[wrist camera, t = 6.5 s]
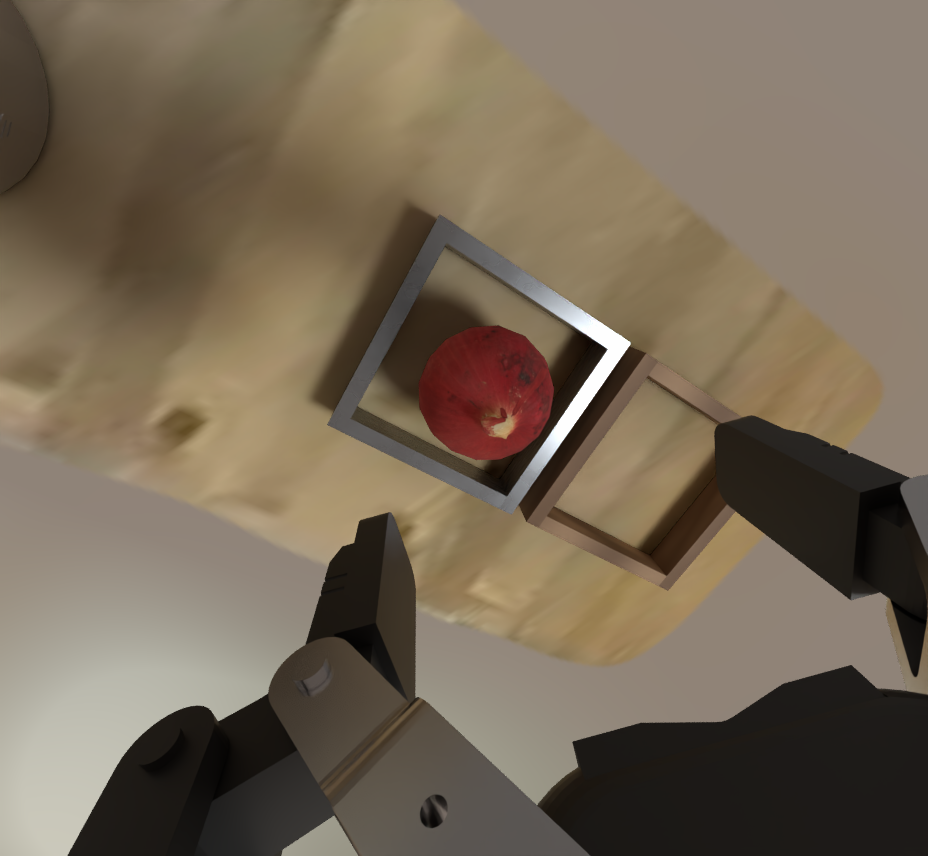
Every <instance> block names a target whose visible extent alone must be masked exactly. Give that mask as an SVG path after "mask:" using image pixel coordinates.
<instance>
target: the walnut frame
mask: <svg viewBox="0 0 928 856" xmlns="http://www.w3.org/2000/svg"><path fill="white" fill-rule="evenodd" d="M646 378H648V379H650V380H651V381H653V382H654V383H656V384H657V385H659V386H660V387H662V388H663V389H665V390H667V391H668V392H670V393H671V394H673V395H674V396H676V397H677V398H679V399H680V400H682V401H683V402H685V403H686V404H688V405H689V406H691V407H693V408H694V409H696V410H697V411H699V412H700V413H702V414H703V415H705V416H706V417H708V418H709V419H711V420H712V421H714V422H715V423H717V424H721V423H724V422H728V421H732V420H735V419H739V418H742V417H740V416H739V415H737V414H736V413H734V412H733V411H731V410H730V409H728V408H727V407H725V406H724V405H722V404H721V403H719V402H718V401H716V400H715V399H714V398H712V397H711V396H709V395H708V394H706V393H705V392H703V391H702V390H700V389H699V388H697V387H696V386H694V385H693V384H691V383H690V382H688V381H687V380H685V379H684V378H682V377H681V376H679V375H678V374H676V373H675V372H673V371H672V370H670V369H669V368H667V367H666V366H665V365H663V364H662V363H660V362H659V361H657V360H656V359H654V358H653V357H651V356H650V355H648V354H647V353H644V352H642V351H639V350H637V349H634V348H631V347H629V346H628V348H627V349H626V351H625V352H624V354H623V355H622V357H621V358H620V359H619V361H618V362H617V364H616V365H615V367H614V368H613V369H612V371H611V372H610V374H609V375H608V377H607V378H606V379H605V381H604V382H603V384H602V385H601V387H600V388H599V390H598V391H597V392H596V394H595V395H594V397H593V398H592V400H591V401H590V402H589V404H588V405H587V407H586V408H585V410H584V411H583V412H582V414H581V415H580V417H579V418H578V420H577V421H576V423H575V424H574V425H573V427H572V428H571V430H570V431H569V433H568V434H567V435H566V437H565V438H564V440H563V441H562V443H561V444H560V445H559V447H558V448H557V450H556V451H555V453H554V454H553V456H552V457H551V458H550V460H549V461H548V463H547V464H546V466H545V467H544V468H543V470H542V471H541V473H540V474H539V476H538V477H537V479H536V480H535V481H534V483H533V484H532V486H531V487H530V489H529V490H528V491H527V493H526V494H525V496H524V497H523V499H522V500H521V501H520V503H519V506H520V508H521V511H522V513H523V515H524V517H525V520H526V522H528V523H530V524H532V525H534V526H536V527H538V528H540V529H542V530H544V531H547V532H549V533H551V534H553V535H555V536H557V537H559V538H561V539H563V540H565V541H567V542H569V543H571V544H573V545H575V546H577V547H579V548H581V549H583V550H586V551H588V552H590V553H592V554H594V555H596V556H598V557H600V558H602V559H604V560H606V561H608V562H610V563H612V564H614V565H616V566H618V567H620V568H623V569H625V570H627V571H629V572H631V573H633V574H635V575H637V576H639V577H641V578H643V579H645V580H647V581H649V582H651V583H653V584H655V585H657V586H660V587H662V588H664V589H666V590H669V589H670V588H671V587H672V586H673V584H674V583H675V582H676V581H677V580H678V579H679V577H680V576H681V575H682V574H683V573H684V572H685V570H686V569H687V568H688V567H689V566H690V564H691V563H692V562H693V561H694V560H695V559H696V557H697V556H698V555H699V554H700V553H701V552H702V550H703V549H704V548H705V547H706V546H707V544H708V543H709V542H710V541H711V540H712V539H713V537H714V536H715V535H716V534H717V533H718V532H719V530H720V529H721V528H722V527H723V526H724V525H725V523H726V522H727V521H728V520H729V519H730V517H731V516H732V515H733V514H734V513H735V512H736V511H735V510H733V509H732V508H731V507H730V506H728V505H727V504H726V502H725V501H724V500H723V498H722V496H721V494H720V492H719V490H718V486H717V479H716V476H715V477H714V478H713V479H712V480H711V482H710V483H709V484H708V485H707V487H706V488H705V489H704V490H703V491H702V493H701V494H700V495H699V496H698V498H697V499H696V500H695V501H694V503H693V504H692V505H691V506H690V507H689V509H688V510H687V511H686V512H685V514H684V515H683V516H682V517H681V518H680V520H679V521H678V522H677V523H676V525H675V526H674V527H673V528H672V529H671V531H670V532H669V533H668V534H667V536H666V537H665V538H664V539H663V540H662V542H661V543H660V544H659V545H658V547H657V548H656V549H655V550H654V551H653V553H652V554H651V555H648V554H646V553H644V552H642V551H640V550H638V549H636V548H634V547H632V546H630V545H628V544H626V543H624V542H622V541H620V540H618V539H616V538H614V537H612V536H610V535H608V534H606V533H604V532H602V531H600V530H598V529H596V528H595V527H593V526H591V525H589V524H587V523H585V522H583V521H581V520H579V519H577V518H575V517H573V516H571V515H569V514H567V513H565V512H563V511H561V510H559V509H557V508H555V507H554V505H555V504H556V502H557V501H558V500H559V498H560V497H561V496H562V494H563V493H564V491H565V490H566V489H567V487H568V486H569V484H570V483H571V482H572V480H573V479H574V478H575V476H576V475H577V473H578V472H579V471H580V469H581V468H582V466H583V465H584V464H585V462H586V461H587V460H588V458H589V457H590V455H591V454H592V453H593V451H594V450H595V448H596V447H597V446H598V444H599V443H600V442H601V440H602V439H603V437H604V436H605V435H606V433H607V432H608V430H609V429H610V428H611V426H612V425H613V424H614V422H615V421H616V419H617V418H618V417H619V415H620V414H621V412H622V411H623V410H624V408H625V407H626V406H627V404H628V403H629V401H630V400H631V399H632V397H633V396H634V394H635V393H636V392H637V390H638V389H639V388H640V386H641V385H642V383H643V382H644V381H645V379H646Z"/></svg>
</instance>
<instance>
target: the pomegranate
mask: <svg viewBox="0 0 928 856" xmlns="http://www.w3.org/2000/svg"><path fill="white" fill-rule="evenodd" d="M553 393H554V387H553V383H552V380H551V376H550V373H549V369H548V365H547V362H546V360H545V358H544V357H543V356H542V355H541V354H540V352H539V351H538V350H537V349H536V348H535V347H534V346H533V345H532V343H531V342H530V341H529V340H528V339H527V338H526V337H525V336H523V335H521V334H518V333H516V332H513V331H511V330H508V329H506V328H503V327H501V326H484V327H470V328H468V329H466V330H464V331H462V332H460V333H458V334H456V335H454V336H452V337H450V338H447V339H446V340H445V341H444V342H443V343H442V344H441V345H440V347H439V348H438V349H437V350H436V351H435V352H434V353H433V354H432V355H431V356H430V357H429V359H428V361H427V364H426V366H425V369H424V371H423V374H422V376H421V378H420V381H419V406H420V410H421V412H422V414H423V416H424V419H425V421H426V423H427V425H428V427H429V429H430V431H431V432H432V433H433V435H434V436H435V437H436V438H438V439H439V440H440V441H441V442H442V443H443V444H445V445H446V446H447V447H448V448H449V449H450V450H452V451H454V452H456V453H459V454H462V455H465V456H467V457H470V458H473V459H475V460H496V459H502V458H505V457H507V456H510V455H512V454H515V453H517V452H520V451H522V450H523V449H524V448H525V447H527V446H528V445H529V444H530V443H531V442H532V441H533V440H535V439H536V438H537V437H538V436H539V435H540V433H541V431H542V429H543V427H544V426H545V424H546V422H547V420H548V418H549V417H550V411H551V405H552V399H553Z"/></svg>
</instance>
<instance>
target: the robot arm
mask: <svg viewBox="0 0 928 856" xmlns="http://www.w3.org/2000/svg"><path fill="white" fill-rule="evenodd" d="M48 118H49V100H48V90H47V81H46V77H45V74H44V70H43V67H42V63H41V60H40V56H39V53H38V49H37V47H36V45H35V43H34V41H33V39H32V37H31V35H30V33H29V30H28V28H27V26H26V24H25V22H24V20H23V18H22V16H21V15H20V13H19V12H18V10H17V9H16V7H15V6H14V4H13V3H12V1H11V0H0V193H2V192H5V191H6V190H8V189H9V188H11V187H12V186H13V185H15V184H16V183H17V182H19V181H20V180H22V179H23V178H24V177H25V175H26V174H27V173H28V171H29V170H30V169H31V168H32V166H33V165H34V164H35V162H36V161H37V160H38V157H39V154H40V152H41V149H42V147H43V144H44V142H45V139H46V135H47V127H48ZM714 437H715V458H716V479H717V486H718V490H719V492H720V494H721V496H722V498H723V500H724V501H725V502H726V504H727V505H728V506H730V507H731V508H732V509H733V510H735V511H736V512H737V513H738V514H740V515H741V516H742V517H744V518H745V519H746V520H748V521H749V522H750V523H751V524H753V525H754V526H755V527H757V528H758V529H759V530H760V531H762V532H763V533H764V534H766V535H767V536H768V537H770V538H771V539H772V540H774V541H775V542H776V543H777V544H779V545H780V546H781V547H782V548H784V549H785V550H787V551H788V552H789V553H790V554H792V555H793V556H794V557H795V558H797V559H798V560H799V561H801V562H802V563H803V564H805V565H806V566H807V567H808V568H810V569H811V570H812V571H814V572H815V573H816V574H817V575H819V576H820V577H821V578H823V579H824V580H825V581H827V582H828V583H829V584H830V585H832V586H833V587H834V588H836V589H837V590H838V591H840V592H841V593H842V594H843V595H845V596H846V597H847V598H849V599H850V600H854V599H857V598H861V597H865V596H868V595H872V594H876V593H879V592H881V593H882V594H884V595H885V596H887V601H886V609H885V610H886V616H887V620H888V624H889V627H890V631H891V635H892V638H893V642H894V646H895V649H896V653H897V657H898V661H899V664H900V668H901V672H902V675H903V679H904V683H905V686H906V690H907V691H902V690H892V689H877V688H876V687H875V686H874V685H872V684H871V683H870V682H869V681H868V680H867V679H866V678H865V677H864V676H863V675H862V674H861V673H859V672H858V671H857V670H856V669H855V668H854V667H853V666H852V665H850V666H846V667H842V668H839V669H835V670H832V671H828V672H824V673H821V674H817V675H814V676H810V677H806V678H802V679H799V680H796V681H792V682H788V683H784V684H782V685H781V686H779V687H778V688H776V689H774V690H773V691H772V692H770V693H768V694H767V695H765V696H764V697H762V698H761V699H759V700H758V701H756V702H755V703H753V704H752V705H750V706H749V707H747V708H746V709H744V710H743V711H741V712H740V713H738V714H737V715H735V716H734V717H732V718H730V719H728V720H726V721H723V722H696V723H695V722H692V723H690V722H686V723H639V724H635V725H632V726H628V727H625V728H621V729H617V730H614V731H610V732H606V733H602V734H599V735H595V736H591V737H588V738H584V739H581V740H577V741H573V746H574V751H575V755H576V759H577V763H578V768H576V769H575V770H573V771H572V772H571V773H569V774H568V775H566V776H565V777H564V778H563V779H561V780H560V781H559V782H558V783H557V784H556V785H555V786H553V787H552V788H551V789H550V791H549V792H548V793H547V794H546V795H545V796H544V797H543V799H542V800H541V801H540V802H539V803H538V805H536V804H535V803H534V802H533V801H532V800H531V799H530V798H528V797H527V796H526V795H525V794H524V793H523V792H522V791H521V790H520V789H519V788H518V787H517V786H516V785H515V784H514V783H513V782H512V781H510V780H509V779H508V778H507V777H506V776H505V775H504V774H503V773H502V772H501V771H500V770H499V769H498V768H497V767H496V766H494V765H493V764H492V763H491V762H490V761H489V760H488V759H487V758H486V757H485V756H484V755H483V754H482V753H481V752H480V751H478V749H476V748H475V747H474V746H473V745H472V744H471V743H470V742H469V741H468V740H467V739H466V738H465V737H464V736H463V735H462V734H461V733H460V732H458V731H457V730H456V729H455V728H454V727H453V726H452V725H451V724H450V723H449V722H448V721H447V720H446V719H445V718H444V717H442V716H441V715H440V714H439V713H438V712H437V711H436V710H435V709H434V708H433V707H432V706H431V705H430V704H429V703H427V702H426V701H425V700H423V699H421V698H419V697H417V698H415V636H416V633H415V632H416V631H415V629H416V621H415V620H416V588H415V580H414V575H413V570H412V567H411V564H410V561H409V558H408V555H407V552H406V549H405V547H404V544H403V541H402V538H401V535H400V533H399V530H398V527H397V524H396V521H395V519H394V517H393V515H392V513H391V512H389V513H385V514H381V515H377V516H374V517H370V518H366V519H363V520H360V521H359V524H358V529H357V533H356V538H355V542H354V543H353V544H350V545H346V546H342V548H341V549H340V550H339V551H338V553H337V554H336V555H335V556H334V558H333V559H332V560H331V562H330V563H329V566H328V570H327V573H326V577H325V582H324V584H323V587H322V590H321V596H320V597H319V601H318V604H317V607H316V611H315V614H314V618H313V621H312V625H311V628H310V631H309V635H308V638H307V641H306V645H305V646H303V647H301V648H300V649H298V650H297V651H295V652H294V653H293V654H292V655H291V656H289V658H287V659H286V660H285V661H284V662H283V664H282V665H281V666H280V667H279V669H278V670H277V672H276V673H275V675H274V677H273V679H272V681H271V684H270V687H269V692H268V694H267V695H265V696H264V697H262V698H260V699H259V700H257V701H255V702H253V703H252V704H250V705H248V706H246V707H244V708H242V709H240V710H239V711H237V712H235V713H233V714H231V715H229V716H228V717H226V718H224V719H222V720H220V721H217V719H216V718H215V716H214V714H213V713H212V712H211V710H209V709H208V708H206V707H204V706H190V707H186V708H183V709H181V710H178V711H176V712H174V713H172V714H170V715H168V716H166V717H165V718H163V719H161V720H160V721H159V722H157V723H156V724H154V725H153V726H152V727H151V728H149V729H148V730H147V731H146V732H145V733H143V734H142V735H141V736H140V737H139V738H138V739H137V740H136V741H135V742H134V743H133V745H132V746H131V747H130V748H129V749H128V750H127V752H126V753H125V754H124V756H123V757H122V759H121V760H120V762H119V764H118V765H117V767H116V768H115V770H114V772H113V774H112V776H111V777H110V779H109V781H108V783H107V785H106V787H105V788H104V790H103V792H102V794H101V796H100V797H99V799H98V801H97V803H96V805H95V807H94V809H93V810H92V812H91V814H90V816H89V817H88V819H87V821H86V823H85V825H84V827H83V828H82V830H81V832H80V834H79V836H78V838H77V839H76V841H75V843H74V845H73V847H72V848H71V850H70V852H69V854H68V856H281V854H282V850H283V849H284V848H285V847H287V846H289V845H290V844H292V843H293V842H294V841H296V840H298V839H299V838H301V837H302V836H304V835H305V834H307V833H308V832H310V831H311V830H313V829H314V828H316V827H317V826H319V825H320V824H322V823H323V822H325V821H326V820H328V819H329V818H331V817H332V816H335V817H336V819H337V821H338V822H339V824H340V826H341V827H342V829H343V831H344V832H345V834H346V836H347V837H348V839H349V841H350V842H351V844H352V846H353V848H354V849H355V851H356V852H357V854H358V856H928V475H922V476H917V477H913V478H909V477H907V476H904V475H902V474H900V473H897V472H895V471H893V470H890V469H888V468H886V467H883V466H881V465H879V464H876V463H874V462H872V461H869V460H867V459H865V458H863V457H860V456H858V455H856V454H853V453H850V454H849V453H848V452H847V451H846V450H844V449H842V448H839V447H837V446H835V445H832V446H830V444H829V443H828V442H825V441H823V440H821V439H818V438H816V437H814V436H812V435H809V434H806V433H801V432H796V431H791V430H786V429H783V428H781V427H779V426H777V425H774V424H772V423H770V422H768V421H765V420H763V419H761V418H759V417H756V416H752V415H751V416H747V417H743V418H739V419H735V420H732V421H728V422H724V423H721V424H719V425H718V426H717V427H716V429H715V435H714Z"/></svg>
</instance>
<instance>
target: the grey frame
mask: <svg viewBox="0 0 928 856" xmlns="http://www.w3.org/2000/svg"><path fill="white" fill-rule="evenodd" d="M445 246H446V247H448V248H449V249H451V250H452V251H454V252H455V253H457V254H458V255H460V256H461V257H463V258H464V259H466V260H467V261H469V262H470V263H472V264H474V265H475V266H477V267H478V268H480V269H481V270H483V271H484V272H486V273H487V274H489V275H490V276H492V277H493V278H495V279H496V280H498V281H500V282H501V283H503V284H504V285H506V286H507V287H509V288H510V289H512V290H513V291H515V292H516V293H518V294H519V295H521V296H523V297H524V298H526V299H527V300H529V301H530V302H532V303H533V304H535V305H536V306H538V307H539V308H541V309H542V310H544V311H545V312H547V313H549V314H550V315H552V316H553V317H555V318H556V319H558V320H559V321H561V322H562V323H564V324H565V325H567V326H568V327H570V328H571V329H573V330H575V331H576V332H578V333H579V334H581V335H582V336H584V337H585V338H587V339H588V340H590V341H591V342H592V343H591V345H590V346H589V348H588V349H587V351H586V352H585V354H584V355H583V357H582V358H581V360H580V361H579V363H578V364H577V366H576V367H575V369H574V370H573V372H572V373H571V375H570V376H569V378H568V379H567V381H566V382H565V384H564V385H563V387H562V388H561V390H560V391H559V392H558V394H557V395H556V397H555V398H554V400H553V401H552V405H551V411H550V417H549V418H548V420H547V422H546V424H545V426H544V427H543V429H542V431H541V433H540V435H539V436H538V437H537V438H536V439H535V440H533V441H532V442H531V443H530V444H529V445H528V446H527V447H525V448H524V449H523V450H522V451H520V452H518V453H517V455H516V456H515V458H514V459H513V461H512V462H511V464H510V465H509V467H508V468H507V470H506V471H505V473H504V474H503V476H502V477H501V479H498V478H496V477H494V476H492V475H490V474H488V473H486V472H484V471H482V470H480V469H478V468H476V467H474V466H472V465H470V464H468V463H466V462H464V461H462V460H460V459H459V458H457V457H455V456H453V455H451V454H449V453H447V452H445V451H443V450H441V449H439V448H437V447H435V446H433V445H431V444H429V443H427V442H425V441H423V440H421V439H419V438H417V437H415V436H413V435H411V434H409V433H407V432H405V431H403V430H401V429H400V428H398V427H396V426H394V425H392V424H390V423H388V422H386V421H384V420H382V419H380V418H378V417H376V416H374V415H372V414H370V413H368V412H366V411H364V410H362V409H360V408H358V407H357V406H358V404H359V402H360V400H361V398H362V397H363V395H364V393H365V391H366V389H367V387H368V386H369V384H370V382H371V380H372V378H373V377H374V375H375V373H376V371H377V369H378V367H379V366H380V364H381V362H382V360H383V358H384V356H385V355H386V353H387V351H388V349H389V347H390V346H391V344H392V342H393V340H394V338H395V336H396V335H397V333H398V331H399V329H400V327H401V325H402V324H403V322H404V320H405V318H406V316H407V315H408V313H409V311H410V309H411V307H412V305H413V304H414V302H415V300H416V298H417V296H418V294H419V293H420V291H421V289H422V287H423V285H424V283H425V282H426V280H427V278H428V276H429V274H430V273H431V271H432V269H433V267H434V265H435V263H436V262H437V260H438V258H439V256H440V254H441V252H442V251H443V249H444V247H445ZM630 344H631V343H630V342H629V341H627V340H626V339H624V338H623V337H621V336H620V335H618V334H617V333H615V332H614V331H612V330H611V329H609V328H608V327H606V326H605V325H603V324H602V323H600V322H599V321H597V320H596V319H594V318H593V317H592V316H590V315H589V314H587V313H586V312H584V311H583V310H581V309H580V308H578V307H577V306H575V305H574V304H572V303H571V302H569V301H568V300H566V299H565V298H563V297H562V296H560V295H559V294H557V293H556V292H554V291H553V290H551V289H550V288H548V287H547V286H545V285H544V284H543V283H541V282H540V281H538V280H537V279H535V278H534V277H532V276H531V275H529V274H528V273H526V272H525V271H523V270H522V269H520V268H519V267H517V266H516V265H514V264H513V263H511V262H510V261H508V260H507V259H505V258H504V257H502V256H501V255H499V254H498V253H497V252H495V251H494V250H492V249H491V248H489V247H488V246H486V245H485V244H483V243H482V242H480V241H479V240H477V239H476V238H474V237H473V236H471V235H470V234H468V233H467V232H465V231H464V230H462V229H461V228H459V227H458V226H456V225H455V224H453V223H452V222H450V221H449V220H448V219H446V218H445V217H443V216H442V215H439V216H438V218H437V220H436V222H435V223H434V225H433V227H432V229H431V231H430V233H429V235H428V237H427V238H426V240H425V242H424V244H423V246H422V248H421V250H420V251H419V253H418V255H417V257H416V259H415V261H414V263H413V265H412V266H411V268H410V270H409V272H408V274H407V276H406V278H405V280H404V281H403V283H402V285H401V287H400V289H399V291H398V293H397V294H396V296H395V298H394V300H393V302H392V304H391V306H390V308H389V309H388V311H387V313H386V315H385V317H384V319H383V321H382V323H381V324H380V326H379V328H378V330H377V332H376V334H375V336H374V337H373V339H372V341H371V343H370V345H369V347H368V349H367V351H366V352H365V354H364V356H363V358H362V360H361V362H360V364H359V366H358V367H357V369H356V371H355V373H354V375H353V377H352V379H351V380H350V382H349V384H348V386H347V388H346V390H345V392H344V394H343V395H342V397H341V399H340V401H339V403H338V405H337V407H336V408H335V410H334V412H333V414H332V416H331V418H330V420H329V422H328V424H327V425H328V426H330V427H333V428H335V429H337V430H339V431H341V432H343V433H345V434H347V435H349V436H351V437H353V438H355V439H357V440H359V441H361V442H363V443H365V444H367V445H370V446H372V447H374V448H376V449H378V450H380V451H382V452H384V453H386V454H388V455H390V456H392V457H394V458H396V459H398V460H400V461H402V462H404V463H407V464H409V465H411V466H413V467H415V468H417V469H419V470H421V471H423V472H425V473H427V474H429V475H431V476H433V477H435V478H437V479H439V480H441V481H444V482H446V483H448V484H450V485H452V486H454V487H456V488H458V489H460V490H462V491H464V492H466V493H468V494H470V495H472V496H474V497H476V498H478V499H480V500H483V501H485V502H487V503H489V504H491V505H493V506H495V507H497V508H499V509H501V510H503V511H505V512H507V513H509V514H512V513H513V512H514V510H515V509H516V507H517V506H518V504H519V503H520V501H521V500H522V499H523V497H524V496H525V494H526V493H527V491H528V490H529V489H530V487H531V486H532V484H533V483H534V481H535V480H536V479H537V477H538V476H539V474H540V473H541V471H542V470H543V468H544V467H545V466H546V464H547V463H548V461H549V460H550V458H551V457H552V456H553V454H554V453H555V451H556V450H557V448H558V447H559V445H560V444H561V443H562V441H563V440H564V438H565V437H566V435H567V434H568V433H569V431H570V430H571V428H572V427H573V425H574V424H575V423H576V421H577V420H578V418H579V417H580V415H581V414H582V412H583V411H584V410H585V408H586V407H587V405H588V404H589V402H590V401H591V400H592V398H593V397H594V395H595V394H596V392H597V391H598V390H599V388H600V387H601V385H602V384H603V382H604V381H605V379H606V378H607V377H608V375H609V374H610V372H611V371H612V369H613V368H614V367H615V365H616V364H617V362H618V361H619V359H620V358H621V357H622V355H623V354H624V352H625V351H626V349H627V348H628V346H629V345H630Z"/></svg>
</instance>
